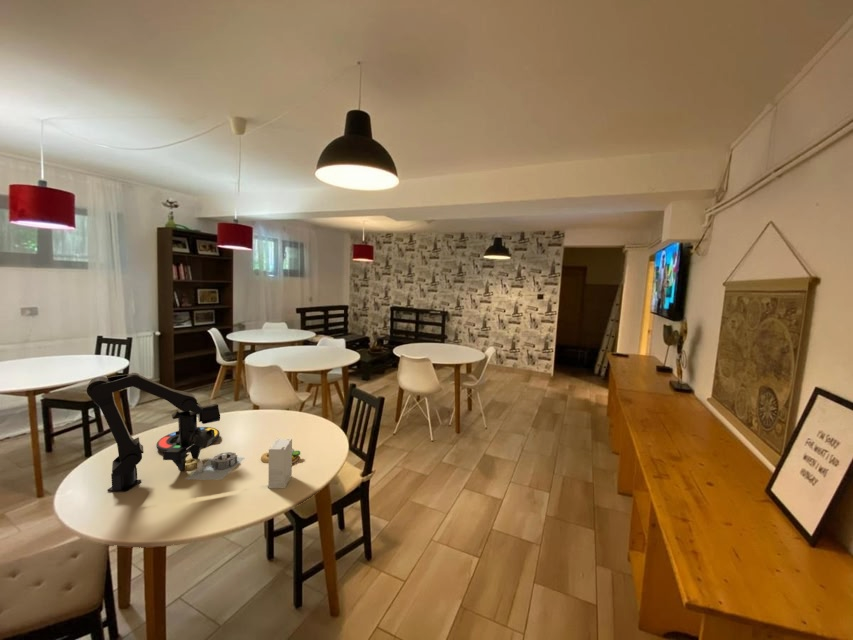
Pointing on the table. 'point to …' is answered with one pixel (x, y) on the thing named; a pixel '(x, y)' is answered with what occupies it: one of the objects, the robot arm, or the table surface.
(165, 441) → the electronic game
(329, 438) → the table surface
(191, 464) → the brass gear
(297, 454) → the toy food set
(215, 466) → the gear
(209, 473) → the gear board
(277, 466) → the skincare box
